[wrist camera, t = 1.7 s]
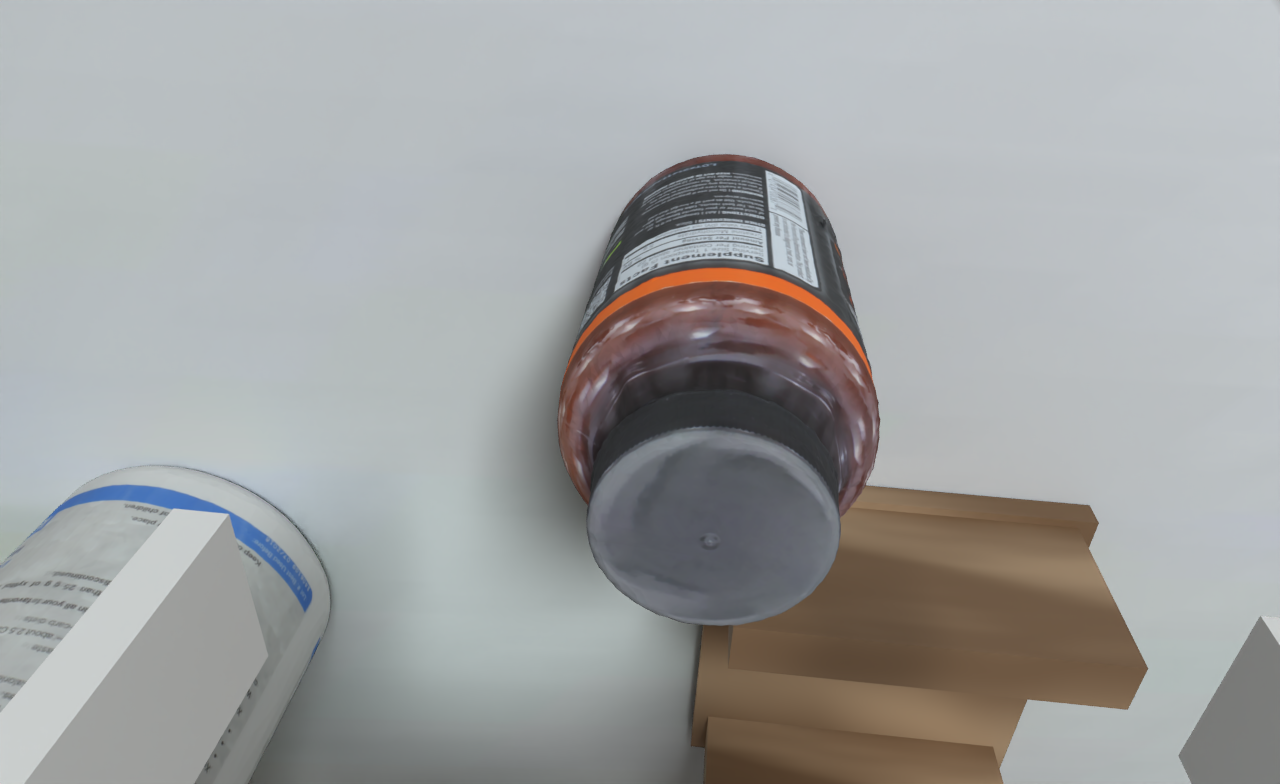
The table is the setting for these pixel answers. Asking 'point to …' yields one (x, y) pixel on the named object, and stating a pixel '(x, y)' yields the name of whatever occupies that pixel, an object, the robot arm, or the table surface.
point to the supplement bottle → (719, 395)
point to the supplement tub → (105, 542)
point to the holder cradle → (917, 647)
